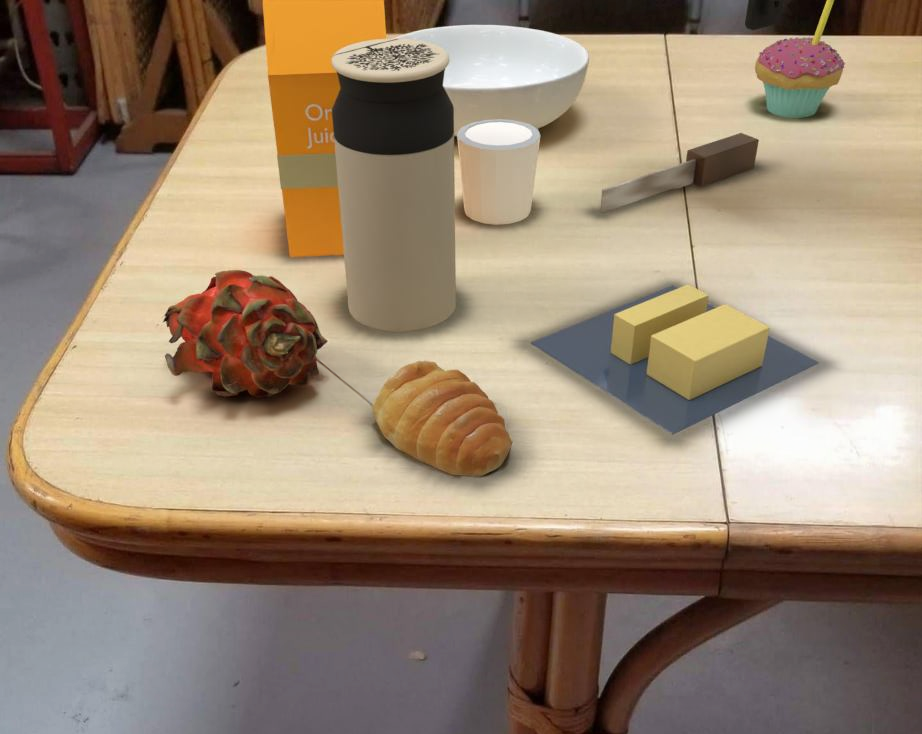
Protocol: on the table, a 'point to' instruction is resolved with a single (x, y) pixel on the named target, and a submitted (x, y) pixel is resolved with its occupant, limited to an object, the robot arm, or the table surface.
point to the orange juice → (311, 109)
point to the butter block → (707, 351)
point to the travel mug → (396, 182)
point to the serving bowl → (508, 72)
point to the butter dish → (631, 385)
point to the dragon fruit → (245, 335)
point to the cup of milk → (498, 169)
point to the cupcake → (799, 72)
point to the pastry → (442, 420)
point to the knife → (688, 171)
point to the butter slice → (653, 321)
